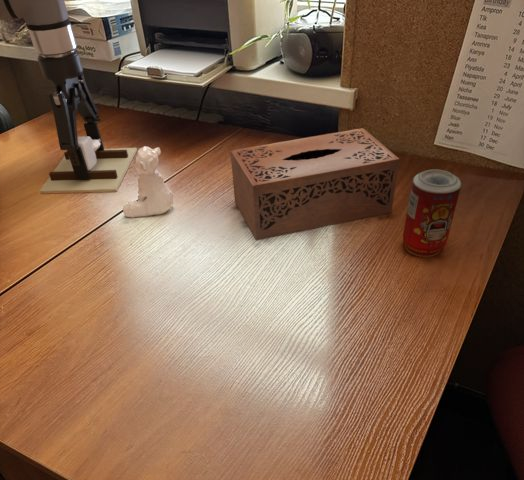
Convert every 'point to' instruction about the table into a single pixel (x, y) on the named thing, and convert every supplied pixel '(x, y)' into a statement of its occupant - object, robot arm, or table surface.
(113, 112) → the table surface
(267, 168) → the tissue box cover
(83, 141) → the power adapter
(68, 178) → the slot mat
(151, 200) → the sitting furry creature
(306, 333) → the table surface
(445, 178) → the red snack canister
